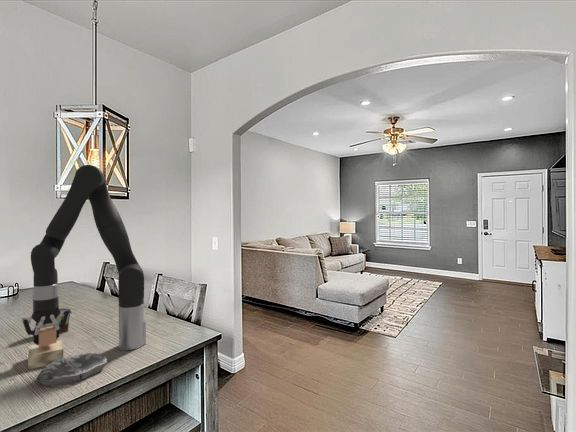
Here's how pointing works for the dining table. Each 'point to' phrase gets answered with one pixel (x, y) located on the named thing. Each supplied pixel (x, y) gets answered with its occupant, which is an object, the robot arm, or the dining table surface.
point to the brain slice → (72, 369)
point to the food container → (58, 319)
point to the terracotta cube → (47, 336)
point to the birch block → (44, 354)
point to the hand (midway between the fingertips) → (46, 341)
